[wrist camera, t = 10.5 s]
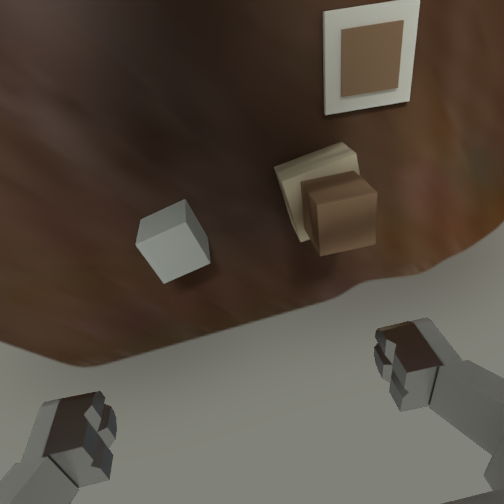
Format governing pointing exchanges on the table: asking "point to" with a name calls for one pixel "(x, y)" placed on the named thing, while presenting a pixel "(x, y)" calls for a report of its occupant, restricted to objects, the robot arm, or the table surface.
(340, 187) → the walnut cube
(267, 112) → the table surface
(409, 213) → the table surface
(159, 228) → the grey cube
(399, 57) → the swatch
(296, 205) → the oak base block
